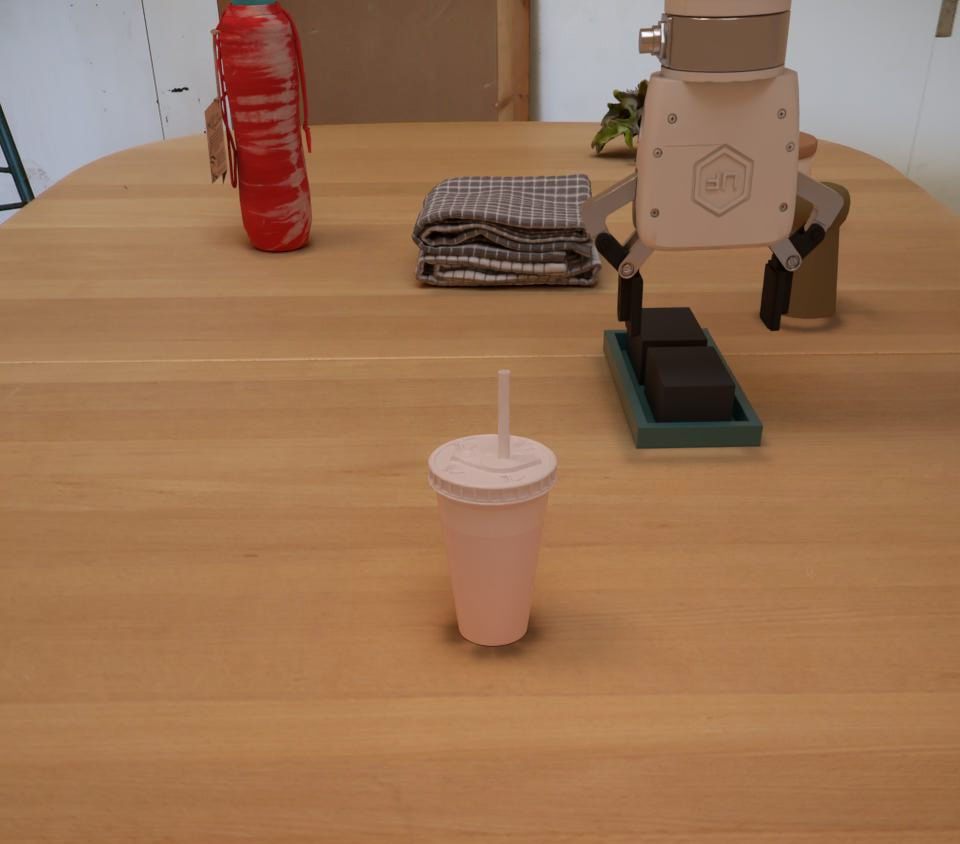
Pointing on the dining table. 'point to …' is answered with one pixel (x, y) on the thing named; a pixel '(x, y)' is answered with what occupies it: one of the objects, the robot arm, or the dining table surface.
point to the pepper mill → (817, 264)
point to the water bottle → (262, 122)
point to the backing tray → (681, 434)
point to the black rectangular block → (688, 385)
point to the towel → (506, 232)
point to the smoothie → (493, 523)
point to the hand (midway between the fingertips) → (700, 328)
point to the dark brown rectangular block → (663, 334)
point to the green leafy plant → (622, 117)
